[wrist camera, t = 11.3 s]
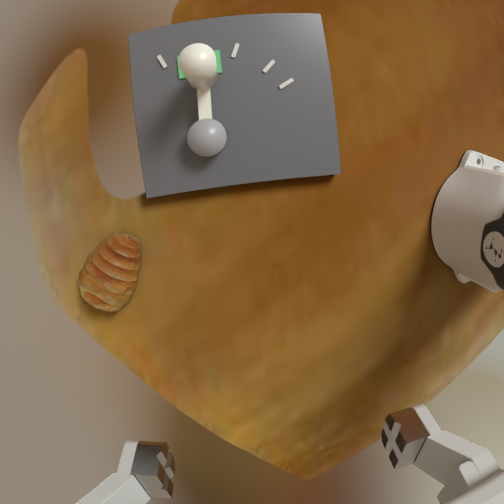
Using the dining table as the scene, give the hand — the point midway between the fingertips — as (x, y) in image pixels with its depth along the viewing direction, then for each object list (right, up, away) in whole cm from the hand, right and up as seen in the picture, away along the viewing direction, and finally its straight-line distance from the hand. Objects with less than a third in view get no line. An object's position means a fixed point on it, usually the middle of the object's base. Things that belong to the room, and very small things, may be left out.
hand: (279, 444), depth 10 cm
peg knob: (-5, +21, +18) cm, 28 cm away
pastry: (-17, +5, +25) cm, 31 cm away
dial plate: (-3, +23, +20) cm, 30 cm away
